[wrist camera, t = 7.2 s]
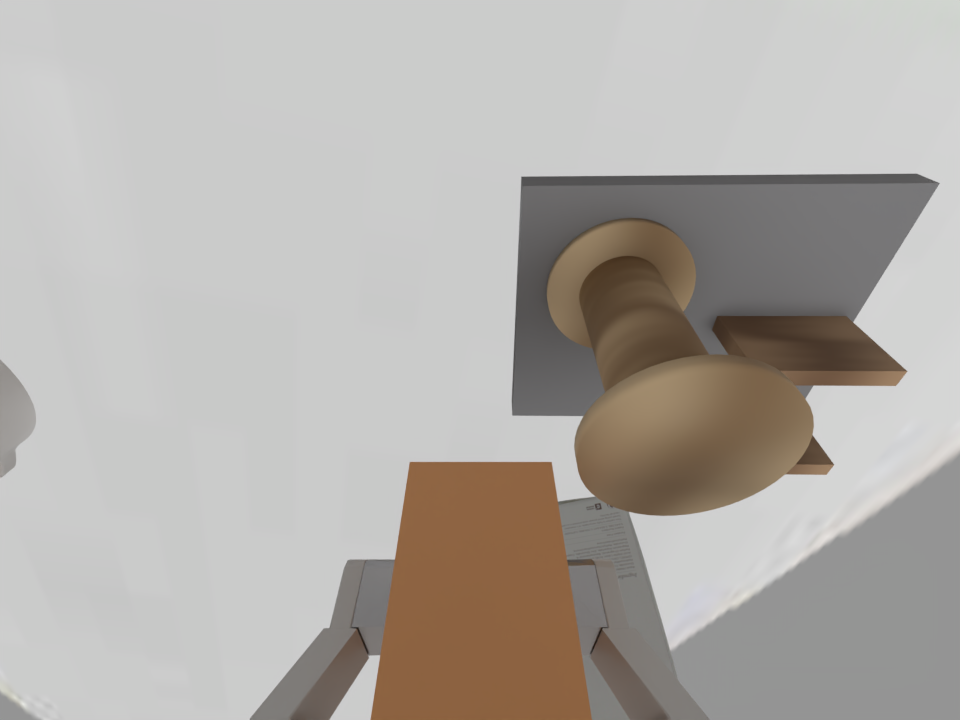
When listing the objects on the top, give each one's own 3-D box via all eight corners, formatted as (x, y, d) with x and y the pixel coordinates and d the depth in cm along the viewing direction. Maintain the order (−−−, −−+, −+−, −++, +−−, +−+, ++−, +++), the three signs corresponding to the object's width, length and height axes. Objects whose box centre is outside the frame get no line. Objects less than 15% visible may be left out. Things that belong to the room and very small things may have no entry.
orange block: (421, 536, 15) (388, 841, 10) (409, 461, 13) (355, 817, 7) (539, 536, 15) (573, 841, 10) (551, 462, 13) (607, 817, 7)
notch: (678, 415, 25) (704, 473, 22) (717, 315, 21) (755, 370, 18) (785, 416, 25) (826, 474, 22) (846, 316, 21) (907, 371, 18)
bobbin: (541, 342, 22) (565, 514, 15) (553, 218, 18) (594, 369, 11) (670, 342, 22) (759, 517, 15) (710, 217, 18) (862, 370, 11)
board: (511, 401, 27) (512, 415, 26) (521, 176, 18) (522, 185, 17) (783, 402, 26) (793, 417, 25) (916, 173, 18) (939, 183, 17)
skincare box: (545, 501, 33) (572, 768, 22) (627, 487, 32) (703, 764, 20) (568, 554, 38) (601, 795, 27) (640, 544, 37) (707, 793, 25)
